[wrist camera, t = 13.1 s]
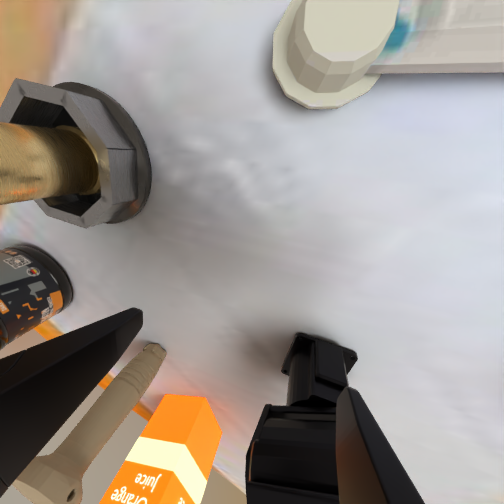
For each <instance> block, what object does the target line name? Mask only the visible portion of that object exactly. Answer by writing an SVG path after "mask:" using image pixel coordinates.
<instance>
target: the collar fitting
mask: <svg viewBox="0 0 504 504" xmlns="http://www.w3.org/2000/svg"><path fill="white" fill-rule="evenodd" d="M0 122H3V123H12V124H21V125H29V126H38V127H47V128H55V127H57V126H61V125H65V126H73V127H79V128H80V129H81V131H82V132H83V133H84V135H85V136H86V137H87V139H88V140H89V141H90V143H91V144H92V146H93V147H94V148H95V150H96V151H97V158H98V168H99V177H100V187H101V193H96V194H90V195H80V194H77V193H74V194H67V195H61V196H54V197H48V198H41V199H35V200H34V201H35V202H36V203H37V204H38V206H39V207H40V208H41V209H42V210H43V211H44V213H45V214H46V215H47V216H50V217H53V218H56V219H59V220H62V221H65V222H68V223H71V224H74V225H77V226H80V227H83V228H89V227H92V226H95V225H98V224H102V223H107V224H113V223H119V222H122V221H125V220H128V219H130V218H132V217H134V216H135V215H137V214H138V213H139V212H140V211H141V210H142V208H143V207H144V205H145V203H146V201H147V199H148V196H149V193H150V188H151V165H150V159H149V155H148V151H147V148H146V145H145V143H144V140H143V138H142V136H141V134H140V131H139V130H138V128H137V126H136V125H135V123H134V121H133V120H132V118H131V117H130V116H129V114H128V113H127V112H126V111H125V110H124V109H123V108H122V106H121V105H120V104H119V103H117V102H116V101H115V100H114V99H113V98H111V97H110V96H109V95H107V94H106V93H104V92H102V91H100V90H98V89H96V88H93V87H90V86H87V85H83V84H80V83H74V82H64V83H60V84H57V85H55V86H53V87H51V86H47V85H42V84H38V83H34V82H30V81H26V80H22V79H17V78H16V79H14V81H13V83H12V85H11V87H10V89H9V91H8V93H7V95H6V97H5V99H4V101H3V103H2V105H1V107H0Z"/></svg>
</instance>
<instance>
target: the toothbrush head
mask: <svg viewBox="0 0 504 504" xmlns="http://www.w3.org/2000/svg"><path fill="white" fill-rule="evenodd" d="M496 72H504V0H292V1H291V2H290V4H289V6H288V8H287V10H286V12H285V13H284V15H283V17H282V19H281V21H280V23H279V25H278V26H277V28H276V30H275V32H274V36H273V73H274V75H275V77H276V79H277V80H278V82H279V84H280V86H281V88H282V90H283V92H284V94H285V96H287V97H288V98H289V99H292V100H294V101H295V102H297V103H299V104H301V105H302V106H304V107H306V108H307V109H337V108H339V107H341V106H343V105H345V104H347V103H349V102H350V101H352V100H354V99H356V98H358V97H360V96H362V95H364V94H365V93H367V92H368V91H369V90H370V89H371V88H372V86H373V85H374V84H375V82H376V81H377V80H378V79H379V77H380V76H381V75H382V73H496Z"/></svg>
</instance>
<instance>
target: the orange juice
mask: <svg viewBox="0 0 504 504" xmlns="http://www.w3.org/2000/svg"><path fill="white" fill-rule="evenodd" d="M221 435H222V431H221V429H220V427H219V425H218V423H217V421H216V419H215V417H214V415H213V412H212V410H211V408H210V406H209V404H208V402H207V400H206V398H204V397H193V396H182V395H172V394H165V396H164V398H163V399H162V401H161V403H160V404H159V406H158V408H157V409H156V411H155V412H154V414H153V416H152V417H151V419H150V421H149V422H148V424H147V426H146V427H145V429H144V431H143V432H142V434H141V436H140V437H139V438H138V440H137V441H136V443H135V445H134V446H133V448H132V450H131V451H130V453H129V454H128V456H127V458H126V459H125V462H124V463H123V465H122V467H121V468H120V470H119V472H118V473H117V475H116V477H115V478H114V480H113V482H112V483H111V485H110V487H109V488H108V490H107V491H106V493H105V495H104V497H103V498H102V500H101V501H100V503H99V504H200V503H201V500H202V496H203V493H204V490H205V487H206V484H207V479H208V476H209V473H210V470H211V467H212V464H213V460H214V457H215V454H216V451H217V448H218V445H219V441H220V438H221Z"/></svg>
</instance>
